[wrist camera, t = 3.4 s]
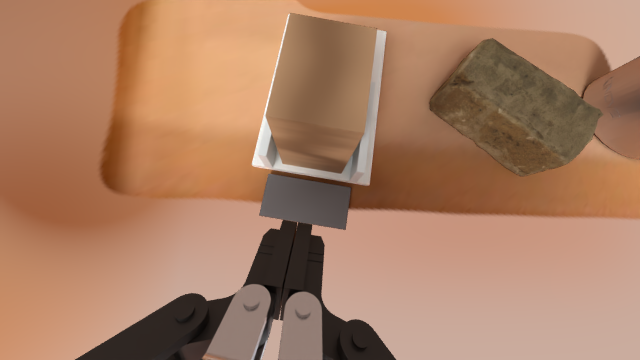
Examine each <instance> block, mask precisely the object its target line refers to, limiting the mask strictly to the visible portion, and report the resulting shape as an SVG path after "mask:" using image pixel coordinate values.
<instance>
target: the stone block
mask: <svg viewBox="0 0 640 360" xmlns="http://www.w3.org/2000/svg"><path fill="white" fill-rule="evenodd" d="M430 110H431V111H433V112H434V113H435V114H437V115H438V116H439V117H440V118H441V119H443V120H444V121H446V122H447V123H448V124H450V125H451V126H453V127H454V128H456V129H457V130H458V131H459V132H460V133H461V134H463V135H465V136H467V137H469V138H470V139H472V140H473V141H474V142H475V144H476V145H477V146H478V147H480V148H482V149H484V150H485V151H486V152H488V153H489V154H490V155H491V156H492V157H493V158H494V159H495V160H497V161H498V162H499V163H500V164H502V165H503V166H505V167H506V168H507V169H509V170H511V171H512V172H514V173H516V174H517V175H519V176H527V175H530V174H534V173H537V172H542V171H545V170H547V169H554V168H557V167H560V166H563V165H566V164H568V163H569V162H570V161H572V160H573V159H574V158H575V157H576V156H577V155H578V154H579V153H580V152H581V151H582V150H583V149H584V147H585V146H586V145H587V144H588V143H589V142H590V141H591V140H592V137H593V134H594V132H595V129H596V127H597V122H598V119H599V118H600V117H602V116H603V115H604V114H603V113H602V112H601V110H600V109H598V108H596V107H593V106H592V105H590V104H589V103H587V102H586V101H584V100H583V99H582V98H581V97H579V96H578V94H577V93H576V92H575V91H574V90H572V89H570V88H568V87H567V86H566V85H564V84H563V83H562V82H560V81H558V80H556V79H554V78H552V77H551V76H549V75H548V74H546V73H545V72H543V71H542V70H540V69H539V68H537V67H536V66H534V65H533V64H531V63H530V62H528V61H527V60H525V59H524V58H522V57H520V56H519V55H517V54H515V53H514V52H512V51H511V50H509V49H508V48H506V47H505V46H503V45H502V44H500V43H499V42H497V41H496V40H494V39H493V38H492V39H488V40H484V41H482V42H481V43H480V44H479V45H478V46H477V47H476V48H475V49H474V50H473V51H472V52H471V53H469V54H468V56H467V57H466V58H465V59H463V60H462V62H461V63H460V64H459V66H458V68H457V69H456V70H455V71H454V73H453V74H452V75H451V76H450V78H449V79H448V80H447V81H446V82H445V83H444V84H443V85H442V86H441V87H440V89H439V90H438V91H437V93H436V94H435V95H434V96H433V97H432V99H431V101H430Z"/></svg>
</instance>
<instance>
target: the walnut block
mask: <svg viewBox="0 0 640 360" xmlns="http://www.w3.org/2000/svg"><path fill="white" fill-rule="evenodd" d="M376 35H377V28H372V27H366V26H361V25H355V24H350V23H344V22H338V21H333V20H327V19H322V18H316V17H311V16H305V15H300V14H294V13H290V15H289V20H288V24H287V28H286V32H285V36H284V40H283V44H282V49H281V53H280V57H279V61H278V65H277V69H276V73H275V78H274V82H273V86H272V90H271V94H270V98H269V102H268V107H267V111H266V115H265V116H266V119H267V122H268V125H269V128H270V130H271V133H272V136H273V139H274V141H275V144H276V147H277V150H278V152H279V155H280V158H281V161H282V164H286V165H292V166H298V167H304V168H310V169H315V170H321V171H327V172H333V173H339V174H341V173H342V172H343V170H344V168H345V166H346V164H347V163H348V161H349V159H350V157H351V156H352V154H353V152H354V150H355V149H356V147H357V145H358V143H359V142H360V140H361V138H362V136H363V135H364V133H365V125H366V117H367V108H368V100H369V92H370V84H371V76H372V68H373V60H374V52H375V44H376Z"/></svg>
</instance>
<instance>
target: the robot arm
mask: <svg viewBox="0 0 640 360" xmlns="http://www.w3.org/2000/svg"><path fill="white" fill-rule="evenodd" d="M583 100H584V101H586V102H587V103H589V104H590V105H592V106H593V107H596V108H598V109H600V110H601V112H602V113H603V114H604V115H603V116H602V117H600V118H599V119H598V122H597V127H596V129H595V132H594V133H595V135H596V136H597V137H598V138H599V139H600V140H601V141H602V142H603V143H604V144H605V145H607V146H608V147H609V148H611V149H612V150H614V151H616V152H617V153H619V154H621V155H624V156H627V157H629V158H633V159H640V56H639V57H637V58H636V59H634V60H632V61H630V62H628V63H626V64H624V65H623V66H621V67H619V68H617V69H615V70H613V71H611V72H609V73H607V74H606V75H604V76H602V77H600V78H598V79H596V80H594V81H593V82H592V83H591V84H590V85H589V86H588V87H587V89H586V91H585V93H584V97H583ZM296 229H297V230H296ZM311 230H312V224H306V223H300V222H298V226H297V222H294V221H288V220H283V221H282V225H281V228H280V230H277V229H270V230H269V231H268V232H267V233H266V234H265V235H264V236H263V238H262V241H261V244H260V246H259V249H258V251H257V254H256V256H255V259H254V261H253V264H252V267H251V269H250V272H249V274H248V277H247V279H246V282H245V284H244V285H243V287H242V288H241V289H240V290H239V291H238V292H237V293H235V294H234V295H232V296H229V297H226V298H222V299H216V300H211V301H206V299H205V298H204V297H203V296H202V295H199V294H194V293H191V294H185V295H183V296H180V297H178V298H176V299H175V300H173V301H171V302H170V303H168V304H167V305H165V306H163V307H162V308H160V309H158V310H157V311H155V312H153V313H152V314H150V315H148V316H147V317H145V318H144V319H142V320H140V321H139V322H137V323H135V324H133V325H132V326H130V327H129V328H127V329H125V330H124V331H122V332H120V333H119V334H117V335H115V336H114V337H112V338H110V339H109V340H107V341H105V342H104V343H102V344H100V345H99V346H97V347H95V348H94V349H92V350H90V351H89V352H87V353H85V354H84V355H82V356H80V357H79V358H77V359H75V360H262V357H263V354H264V350H265V347H266V344H267V340H268V337H269V334H270V330H271V326H272V322H273V319H276V320H278V319H279V314H280V310H281V316H280V320H283V326H282V334H281V341H280V350H279V358H278V360H396V359H395V358H394V356H393V355H392V354H391V352H390V351H389V350H388V348H387V347H386V346H385V344H384V343H383V342H382V340H381V339H380V338H379V336H378V335H377V334H376V332H375V331H374V330H373V328H372V327H371V326H369V324H367V323H366V322H364V321H361V320H356V319H355V320H350V321H348V322H346V321H344V320H342V319H340V318H338V317H336V316H335V315H333V314H332V313H330V312H329V311H328V310H327V308H326V307H325V306H324V304H323V301H322V297H321V290H322V275H323V260H324V243H323V240H322V238H321V236H314V235H311ZM281 306H282V307H281Z"/></svg>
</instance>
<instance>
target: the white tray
mask: <svg viewBox="0 0 640 360" xmlns="http://www.w3.org/2000/svg"><path fill="white" fill-rule="evenodd" d="M289 15H290V14H288V18H287V22H286V26H285V30H284V34H283V38H282V43H281V47H280V51H279V55H278V59H277V63H276V67H275V71H274V75H273V80H272V84H271V88H270V92H269V96H268V100H267V104H266V108H265V112H264V116H263V121H262V125H261V129H260V133H259V137H258V141H257V145H256V149H255V153H254V158H253V162H252V165H253V167H259V168H265V169H271V170H276V171H282V172H288V173H294V174H300V175H306V176H312V177H318V178H324V179H330V180H336V181H341V182H347V183H353V184H359V185H365V186H368V185H370V177H371V167H372V158H373V149H374V140H375V131H376V122H377V113H378V104H379V95H380V86H381V77H382V68H383V59H384V50H385V41H386V32H387V31H381V30H377V35H376V44H375V52H374V60H373V68H372V76H371V84H370V92H369V100H368V108H367V117H366V125H365V133H364V135H363V136H362V138H361V140H360V142H359V143H358V145H357V147H356V149H355V150H354V152H353V154H352V156H351V157H350V159H349V161H348V163H347V164H346V166H345V168H344V170H343V172H342V173H341V174H339V173H333V172H327V171H321V170H315V169H310V168H304V167H298V166H292V165H286V164H282V161H281V158H280V155H279V152H278V150H277V147H276V144H275V141H274V139H273V136H272V133H271V130H270V128H269V125H268V122H267V119H266V116H265V115H266V111H267V107H268V102H269V98H270V94H271V90H272V86H273V82H274V78H275V73H276V69H277V65H278V61H279V57H280V53H281V49H282V44H283V40H284V36H285V32H286V28H287V24H288V20H289ZM350 192H351V187H345V186H339V185H333V184H327V183H321V182H315V181H310V180H304V179H298V178H292V177H286V176H280V175H274V174H268V178H267V183H266V187H265V192H264V196H263V201H262V205H261V210H260V214H259V215H260V216H265V217H271V218H277V219H283V220H289V221H295V222H301V223H307V224H313V225H319V226H325V227H331V228H338V229H343V230H345V229H346V223H347V215H348V207H349V200H350Z"/></svg>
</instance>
